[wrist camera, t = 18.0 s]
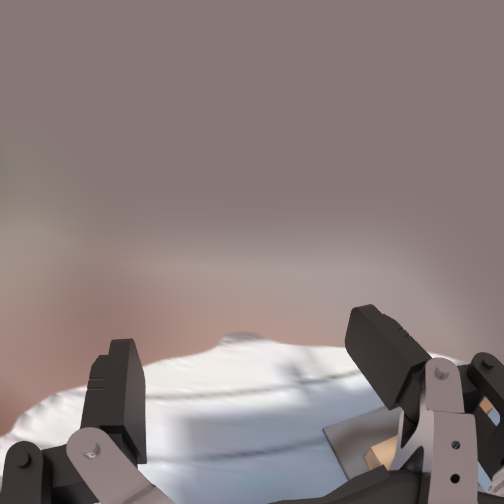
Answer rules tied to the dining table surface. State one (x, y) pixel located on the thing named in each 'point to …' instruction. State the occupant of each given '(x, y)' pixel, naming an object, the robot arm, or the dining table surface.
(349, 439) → the plinth
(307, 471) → the dining table surface
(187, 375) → the dining table surface
